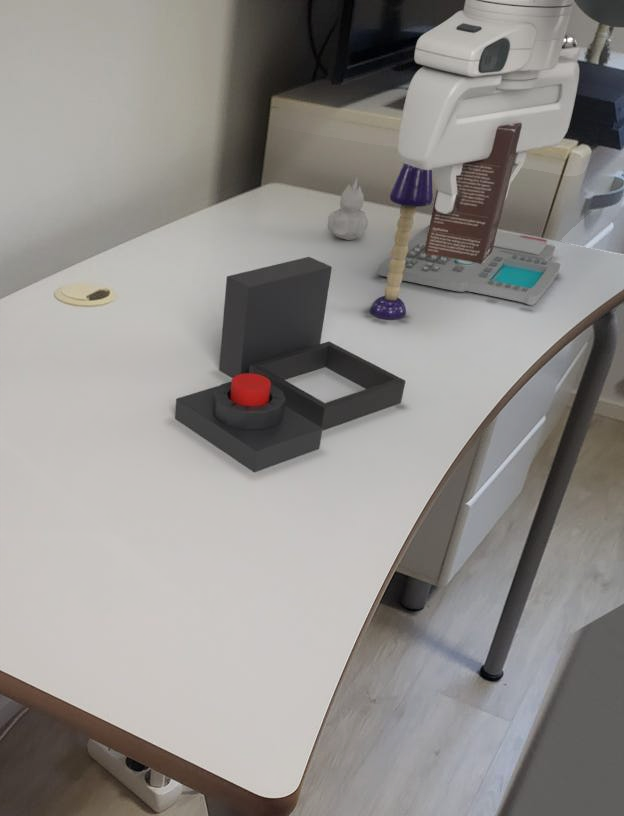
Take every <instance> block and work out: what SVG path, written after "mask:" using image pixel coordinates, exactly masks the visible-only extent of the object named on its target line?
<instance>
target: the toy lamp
mask: <svg viewBox="0 0 624 816" xmlns="http://www.w3.org/2000/svg"><path fill="white" fill-rule="evenodd" d="M433 193H434V192H433V169H432V170H423V169H420V168H416V167H413V166H410V165H408V164H405V163H403V165H402V166H401V169H400V170H399V173H398V176H397V178H396V180H395V183H394V185H393V187H392V189H391V192H390V195H389V200H390V201H391V202H392V203H394V204H397V205H400V207H399V214H400V216H399V218H397V222H396V227H397V230H396V232H395V234H394V244H393V246H392V249H391V257H393V258H392V259H391V261H390V265H389V269H390V272H389V274H388V276H387V277H386V286H385V288H384V295H382V296H379V297H378V298H376V299H375V300H374V301H373V303H372V304H371V306H370V309H369V313H370V314H371V315H372V316H374V317H377V318H379V319H384V320H398V319H402V318H405V316H406V315H407V308H406V305H405V302H404V301H403V300H402V299H401V298H400V297H399V296H400V293H401V287H400V286H401V284H402V282H403V280H402V278H403V275H402V272H403V270H404V268H405V257H406V255H407V252H408V246H407V244H408V243H409V242H410V241H411V235H412V233H411V231H412V229H413V227H414V216H415V215H416V212H417V208H419V207H420V208H422V207H427V206H430V205H431V204H432V202H433V197H434V196H433V195H434V194H433Z"/></svg>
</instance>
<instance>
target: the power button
mask: <svg viewBox="0 0 624 816" xmlns="http://www.w3.org/2000/svg"><path fill="white" fill-rule="evenodd" d="M231 381H232V383H231V394H230V399H231V400H232V401H233V402H235V403H237V404H242V405H246V406H261V405H264V404H267V403H268V402H269V395H270V387H271V382H270V380H269V379H268V378H266V377H264V376H262V375H258V374H251V373H246V374H240V375H237V376H235V377H234V378H231Z"/></svg>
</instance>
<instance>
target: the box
mask: <svg viewBox="0 0 624 816" xmlns="http://www.w3.org/2000/svg"><path fill="white" fill-rule="evenodd" d="M521 127H522V123H516V124H509V125H503V126H499V127H498V128H497V131H496V135H495V139H494V143H493V147H492V151H491V153H490V155H489V157H488V158H487V159H483V160H478V161H473V162H468V163H463V167H462V171H461V174H460V175H459V176H456V182H457V191H459V192H461V193H463V195H462V199H461V202H460V208H459V210H458V211H456V212H452V213H448V214H444V213H441V212H438V211H437V210H436V209H435V203H436V198H437V194H438V190H437V189H436V192H435V196H434V197H435V198H434V202H433V207H432V211H431V217H430V222H429V225H430V226H429V225H428V226H429V231H428V236H427V240H426V246H425V252H424V253H425V254H431V255H437V256H442V257H447V258H453V259H459V260H464V261H470V262H474V263H479V264H484V262H485V261H486V260H487V258H488V257H489V255H490V254H491V252H492V250H493V246H494V242H495V237H496V233H497V231H498V230H499V224H500V220H501V217H502V213H503V208H504V205H505V201H506V200H505V197H506V193H507V189H508V185H509V181H510V177H511V172H512V168H513V164H514V160H515V156H516V148H517V144H518V140H519V136H520V131H521Z"/></svg>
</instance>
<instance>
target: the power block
mask: <svg viewBox="0 0 624 816" xmlns="http://www.w3.org/2000/svg"><path fill="white" fill-rule="evenodd" d="M231 383H232V380H231V381H228V382H224V383H221V384H220V385H216V386H212V387H209V388H206V389H204V390H200V391H197V392H194V393H189V394H187V395H184V396H181V397H180V396H179V397H176V399H175V413H174V414H175V415H174V419H175V420H176V421H177V422H179V423H180V424H182V425H183V426H184V427H186V428H188V429H189V430H191V431H192V432H193V433H195V434H197V435H198V436H199V437H201V438H203V439H204V440H206V442H208V443H210V444H211V445H212V446H214V447H215V448H217V449H218V450H220V451H221V452H223V453H225V454H226V455H227V456H229V457H230V458H232V459H233V460H235V461H236V462H238V463H240V465H242V466H244V467H245V468H247V469H248V470H250V471H251V472H252V473H257V472H259V471H263V470H266V469H268V468H271V467H274V466H277V465H279V464H281V463H284V462H287V461H290V460H293V459H296V458H298V457H301V456H305V455H306V454H310V453H313V452H314V451H318V450H320V447H321V440H322V434H323V431H322V428H321V427H319V426H318V425H316V424H314V423H313V422H311V421H309V420H308V419H306V418H304V417H303V416H301V415H299V414H298V413H296V412H294V411H293V410H291V409H289V408H288V407H286V406H285V402H286V399H285V396H284V394H283V392H282V390H280V389H278V388H276V387H275V386H273V385H271V387H270V395H269V402H268V403H267V404H264V405H261V406H246V405H242V404H237V403H235V402H233V401H232V400H231V399H230V394H231Z"/></svg>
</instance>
